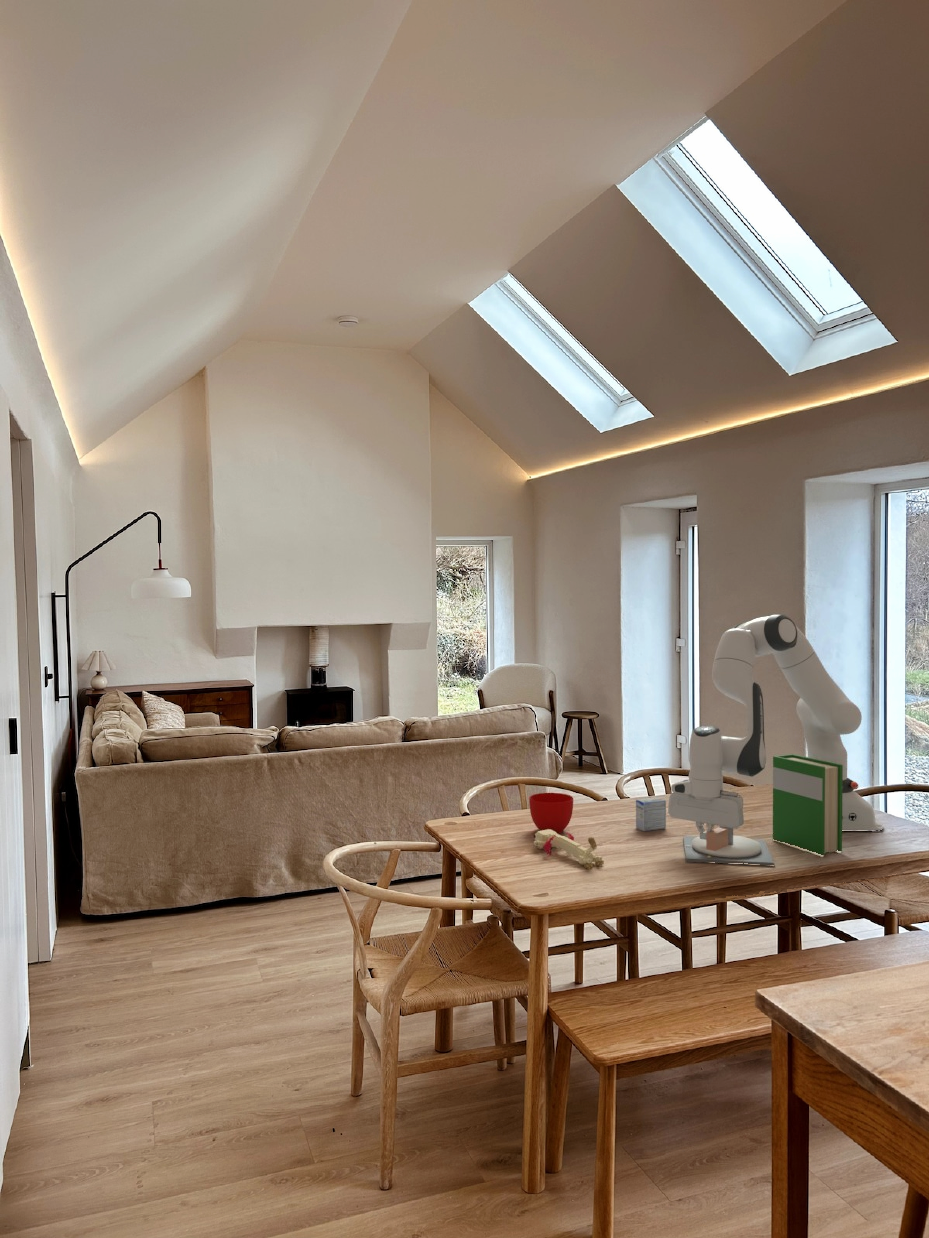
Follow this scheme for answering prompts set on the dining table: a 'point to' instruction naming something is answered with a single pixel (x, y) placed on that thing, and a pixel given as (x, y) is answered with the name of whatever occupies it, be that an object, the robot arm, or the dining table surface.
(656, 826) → the medicine box
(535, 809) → the ceramic cup
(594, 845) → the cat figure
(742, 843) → the dial
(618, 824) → the dining table surface
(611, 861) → the dining table surface
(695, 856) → the dial base plate
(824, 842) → the hardback book
